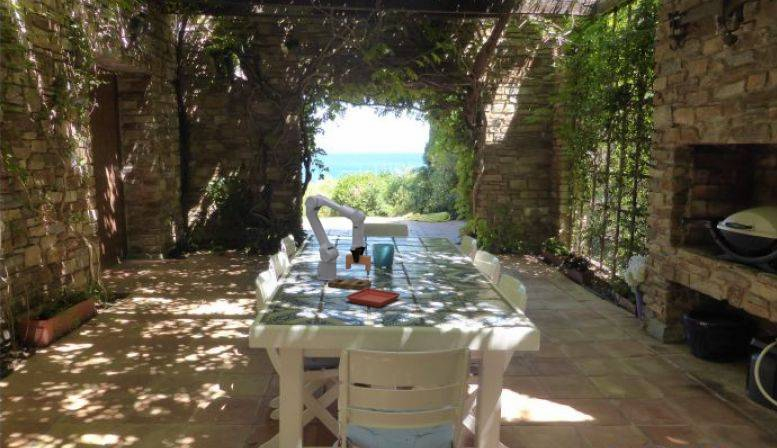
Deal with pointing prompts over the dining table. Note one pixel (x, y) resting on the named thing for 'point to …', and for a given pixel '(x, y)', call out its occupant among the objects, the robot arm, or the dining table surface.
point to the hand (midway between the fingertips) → (357, 261)
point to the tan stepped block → (362, 261)
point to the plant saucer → (373, 297)
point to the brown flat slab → (349, 284)
